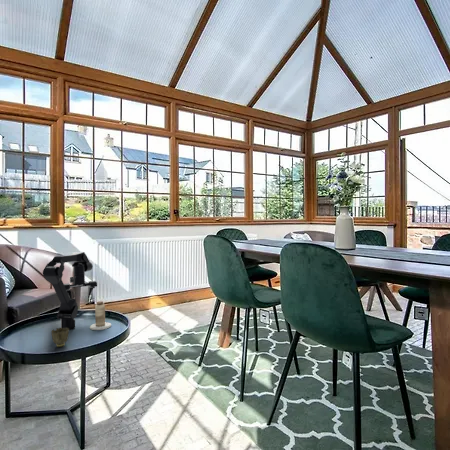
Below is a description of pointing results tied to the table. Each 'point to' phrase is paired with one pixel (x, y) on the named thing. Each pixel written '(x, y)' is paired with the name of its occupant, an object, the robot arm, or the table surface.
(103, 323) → the pepper mill
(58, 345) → the cup
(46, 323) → the table surface
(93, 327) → the plate
